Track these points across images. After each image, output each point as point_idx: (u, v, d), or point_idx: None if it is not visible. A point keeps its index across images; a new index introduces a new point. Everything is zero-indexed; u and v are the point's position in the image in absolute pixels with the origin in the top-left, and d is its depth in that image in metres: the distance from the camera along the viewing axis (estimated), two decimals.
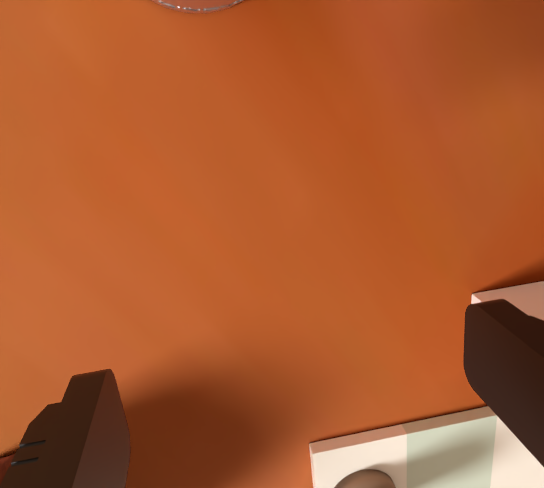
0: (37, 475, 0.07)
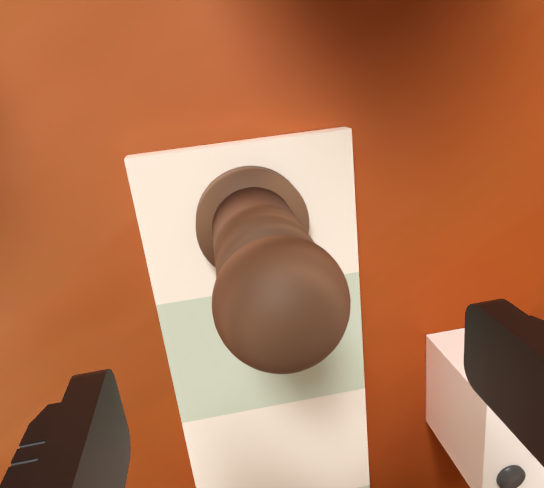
0: (37, 475, 0.07)
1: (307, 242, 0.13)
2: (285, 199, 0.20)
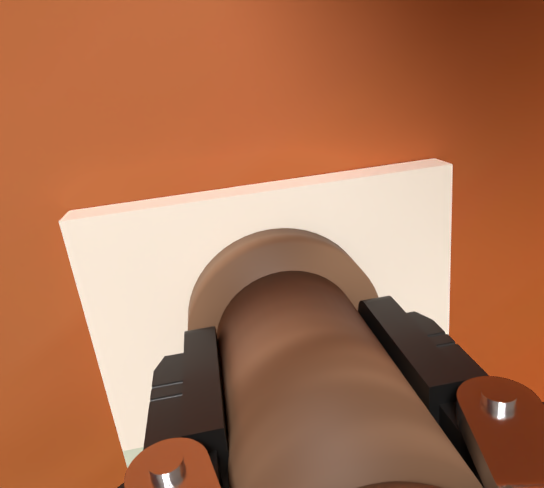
0: (186, 403, 0.08)
1: None
2: (344, 289, 0.12)
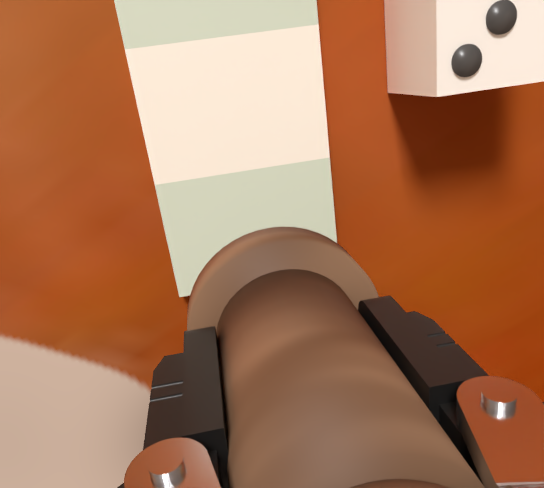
0: (186, 403, 0.08)
1: None
2: (344, 288, 0.12)
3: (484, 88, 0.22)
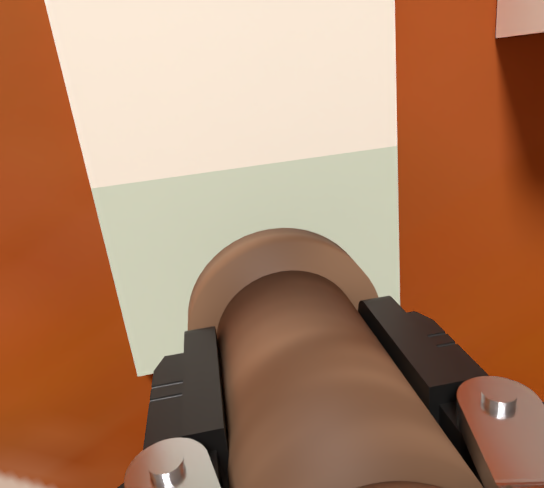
0: (186, 403, 0.08)
1: None
2: (344, 289, 0.12)
3: None
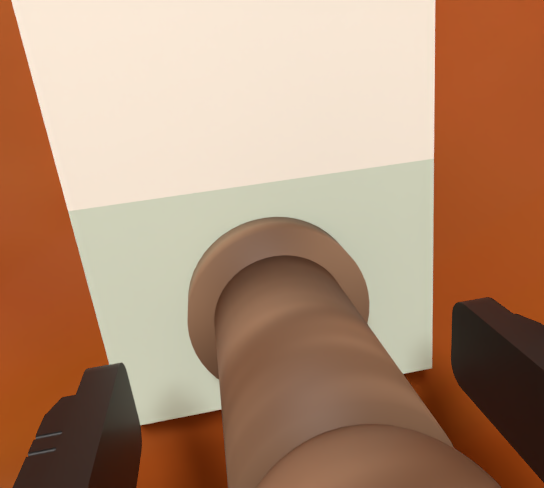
0: (55, 464, 0.07)
1: (460, 477, 0.05)
2: (333, 273, 0.13)
3: None
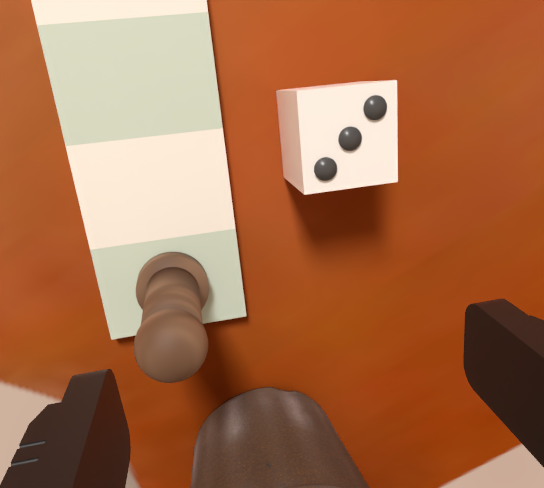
0: (37, 475, 0.07)
1: (183, 314, 0.25)
2: (192, 273, 0.33)
3: (341, 188, 0.29)
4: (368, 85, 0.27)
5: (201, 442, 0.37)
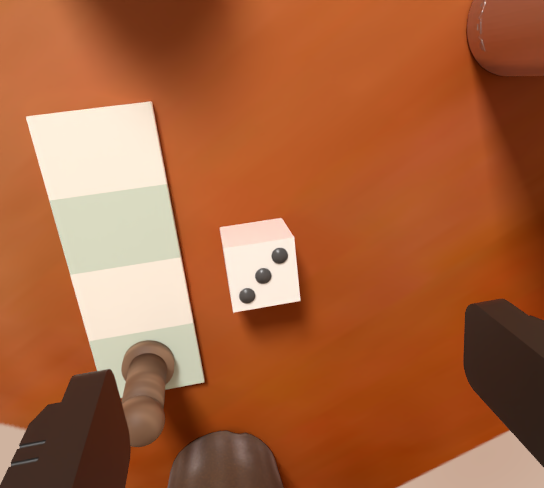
0: (37, 475, 0.07)
1: (147, 401, 0.38)
2: (161, 357, 0.46)
3: (259, 307, 0.41)
4: (274, 242, 0.40)
5: (173, 472, 0.50)
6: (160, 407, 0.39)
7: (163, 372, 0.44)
